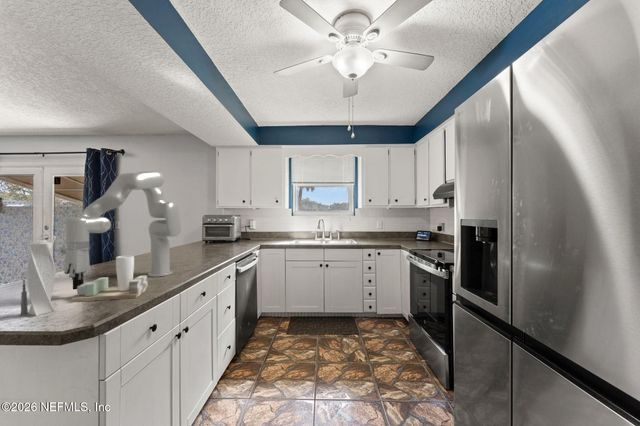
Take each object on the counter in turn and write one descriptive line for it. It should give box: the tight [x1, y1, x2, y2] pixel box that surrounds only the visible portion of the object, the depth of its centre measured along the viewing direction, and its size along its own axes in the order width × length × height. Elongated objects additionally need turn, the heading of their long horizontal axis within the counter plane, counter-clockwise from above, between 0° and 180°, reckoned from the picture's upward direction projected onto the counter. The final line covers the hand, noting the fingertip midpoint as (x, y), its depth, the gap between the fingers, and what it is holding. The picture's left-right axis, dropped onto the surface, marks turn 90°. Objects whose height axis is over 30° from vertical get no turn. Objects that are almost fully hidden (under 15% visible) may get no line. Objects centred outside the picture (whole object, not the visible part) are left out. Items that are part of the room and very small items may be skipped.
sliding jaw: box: [76, 276, 109, 296], centre depth 125 cm, size 13×7×5 cm, turn 14°
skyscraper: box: [19, 235, 57, 319], centre depth 104 cm, size 8×8×28 cm
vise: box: [71, 274, 149, 303], centre depth 127 cm, size 16×23×6 cm
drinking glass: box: [115, 254, 135, 291], centre depth 128 cm, size 7×7×15 cm
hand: (78, 288), depth 123 cm, fingers closed
